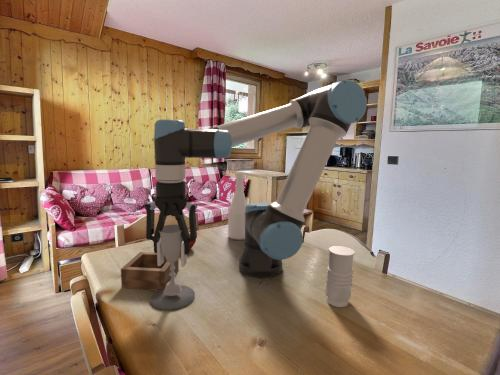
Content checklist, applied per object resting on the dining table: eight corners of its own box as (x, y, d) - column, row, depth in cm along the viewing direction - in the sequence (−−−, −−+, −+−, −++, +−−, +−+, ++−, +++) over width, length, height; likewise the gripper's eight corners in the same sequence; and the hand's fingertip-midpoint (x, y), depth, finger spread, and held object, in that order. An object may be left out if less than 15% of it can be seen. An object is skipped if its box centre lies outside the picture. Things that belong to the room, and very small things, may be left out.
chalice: (178, 299, 75) (177, 233, 72) (154, 296, 77) (152, 231, 74) (189, 285, 82) (189, 225, 79) (167, 283, 84) (166, 223, 81)
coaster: (199, 287, 85) (199, 286, 85) (188, 311, 74) (188, 309, 73) (159, 285, 86) (159, 283, 86) (142, 308, 74) (142, 306, 74)
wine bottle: (225, 239, 128) (226, 172, 123) (230, 232, 137) (231, 170, 132) (246, 241, 126) (248, 173, 121) (250, 234, 135) (252, 171, 130)
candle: (319, 297, 82) (323, 247, 80) (338, 292, 85) (342, 244, 82) (335, 310, 76) (339, 256, 73) (355, 305, 79) (360, 253, 76)
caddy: (178, 270, 96) (178, 253, 95) (165, 290, 83) (164, 271, 82) (140, 268, 97) (140, 251, 96) (121, 288, 84) (120, 269, 83)
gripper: (209, 179, 78) (209, 260, 81) (141, 177, 79) (144, 257, 82) (203, 183, 70) (203, 272, 74) (128, 181, 71) (132, 268, 75)
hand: (172, 264), depth 78 cm, fingers closed on chalice, 6 cm apart
